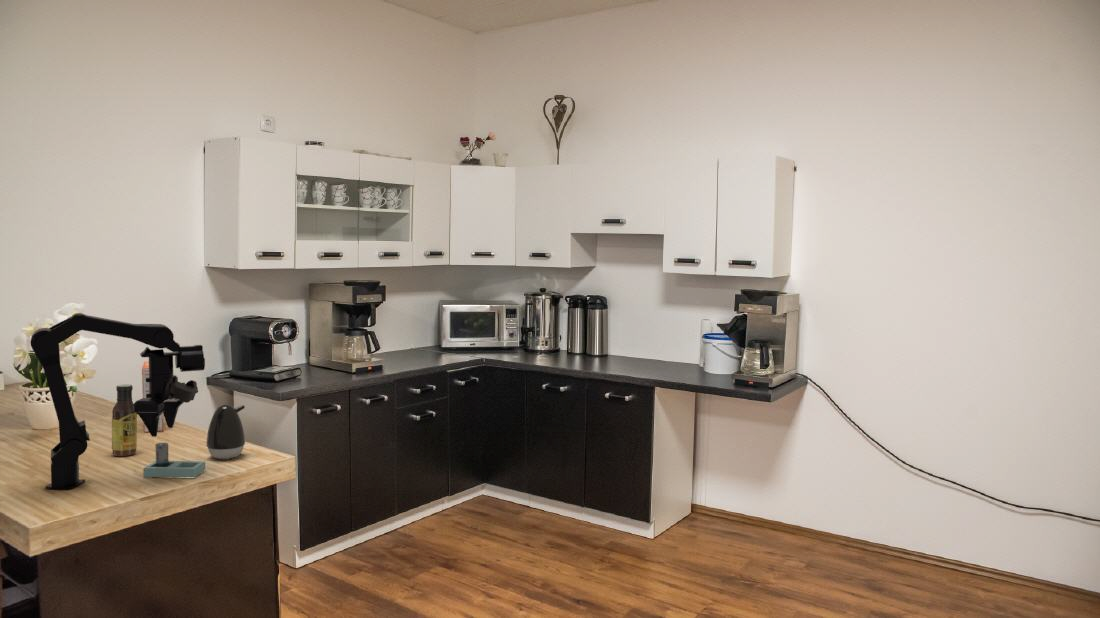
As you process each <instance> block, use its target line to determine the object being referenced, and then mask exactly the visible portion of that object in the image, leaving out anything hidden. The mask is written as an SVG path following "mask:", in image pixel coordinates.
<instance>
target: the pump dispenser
mask: <svg viewBox="0 0 1100 618" xmlns="http://www.w3.org/2000/svg"><path fill="white" fill-rule="evenodd" d="M245 407H246V406H245V405H244V404H242V405H240V406H237V407H234V406H233V405H231V404H228V403H225V404H221V405H219V406H218V407H217V408H216V409H215V411H214V413H213V415H212V416H211V419H210V423H209V425H208V430H207V433H206V434H207V435H206V443H205V444H206V447H207V449H208V452H209V454H210V455H211V456H212V457H213V458H215V459H217V458H218V459H217V460H228V459H227V458H232V459H234V458H233V457H235V458H237V457H238V456H239V455H241V454H242V452H243V450H244V447H245V445H246V436H245V431H244V430H245V429H244V426H243V422H242V419H241V417H240V415H239V412H241V411H242V410H244V409H245Z"/></svg>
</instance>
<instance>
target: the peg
mask: <svg viewBox="0 0 1100 618" xmlns="http://www.w3.org/2000/svg"><path fill="white" fill-rule="evenodd" d="M155 461H156V467H168V466H169V461H170V460H169V442H157V443H155Z"/></svg>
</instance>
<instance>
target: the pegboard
mask: <svg viewBox="0 0 1100 618" xmlns="http://www.w3.org/2000/svg"><path fill="white" fill-rule="evenodd" d="M204 470H205V471H206V461H201V460H199V461H197V460H196V461H192V460H191V461H190V460H169V466H168V467H156V460H155V461H153V462H151V463H149V464H148V465H146V466H144V467H143V468H142V471H143V472H142V473H143V477H144V478H145V479H146V478H150V479H152V477H194V478H193V479H196V478H197V477H198V476H197V475H199V474H200V473H201V472H203V471H204ZM205 471H204V472H205ZM204 472H203V473H204ZM201 474H202V473H201ZM201 474H200V475H201ZM200 475H199V476H200ZM196 476H197V477H196ZM195 477H196V478H195ZM144 478H143V479H144Z"/></svg>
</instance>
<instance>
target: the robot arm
mask: <svg viewBox="0 0 1100 618" xmlns="http://www.w3.org/2000/svg"><path fill="white" fill-rule="evenodd" d="M81 331H85V332H89V333H90V332H91V333H97V334H101V335H108V336H113V337H120V338H125V339H131V340H135V341H137V342H139V343H142V344H145V345H147V346H146V347H145V349H144V350H143V351H141V352H140V353H139V356H140V357H141V358H148V361H149V377H148V378H146V382H149V393H148V394H146V398H143V397H142V398H140V399H138V400H136V401H135V402H133V412H136V414H137V416H139V418H140V419H141V421H142V422H143V425H144V424H145V425H146V427H147V429H148V430H149V432H148V433H149V435H150V436H151V437H157V435H158V432H159V431H158V422H159V416H160V415H161V414H162V413H163V414H164V421H165V423H166V425H167V428H168V429H172V428H174V425H175V422H176V417H177V414H178V412H179V408H180V407H181V406H182V405H183V404H185V403H188V404H189V403H190V402H192V401H194V400H195V396H196V394H198V393H199V387H198V383H197V381H195V380H193V379H190V380H189V381H186V382H181V381H179V380H178V379H179V377H178V376H177V375H176V374H175V375H174V364H175V369H179V370H180V372H181V373H183V372H197V371H198V372H199V371H204V370H205V367H206V358H205V356H204V355H205V354H204V349H203V348H204V347H203V345H202V344H196V345H195V344H194V345H187V346H186V345H184V346H183V345H182V346H180V344H179V343H178V342H176V341H175V339H174V337H175V335H174V332H173V331H172V329H170V328H169V327H168V326H167V325H166V324H161V323H133V322H132V323H131V322H126V321H121V320H120V321H119V320H115V319H110V318H104V317H100V316H94V315H88V314H84V313H82V312H77V313H74V314H72V315H70V317H67V318H66V319H64V320H62V321H60V322H58V323H56V324H54V325H52V326H51V327H40V328H38V329H37V330H35V331H34V332H33V333H32V335H31V338H30V346H31V348H32V351H33V353H34V355H35V357H36V358H37V360H38V362H39V363H40V365H41V367H42V369H43V372H44V375H45V379H46V383H47V385H48V389H49V392H50V396H51V400H52V404H53V406H54V410H55V414H56V417H57V420H58V430H59V432H58V433H59V434H58V435H59V442H58V443H57V444H56V445H55V446H54V447H53V448H52V449H51V450H50V461H51V462H50V482H51V483H49V484H47V485H45V486H44V489H45V490H46V489H48V490H73V489H74V488H76V487H78V486H80V485H82V484H83V483H85V482H86V479H84V478H83V479H81V478H80V463H79V461H80V460H79V457H80V456H81V455H83V454H84V453H85V452H86V451H87V449H88V441H89V442H90V441H91V440H90V439H91V438H90V433H89V432H88V431H87V425H86V421H85V420H84V419H83V420H82V421H79V419H78V418H77V416H76V414H75V411H74V407H73V403H72V400H71V397H70V394H69V390H68V386H67V382H66V379H65V375H64V372H63V368H62V364H61V355H60V354H61V353H60V343H62V342H65V341H66V340H67V339H69V338H71V337H72V336H74V335H75V334H77V333H79V332H81ZM148 346H151V347H153V348H156V349H151V348H149V347H148ZM164 349H167V350H168V351H169V352H167V351H166V352H165V351H164Z"/></svg>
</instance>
